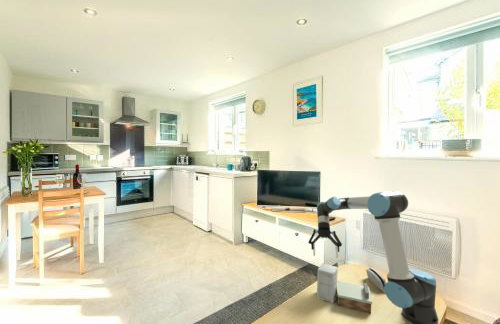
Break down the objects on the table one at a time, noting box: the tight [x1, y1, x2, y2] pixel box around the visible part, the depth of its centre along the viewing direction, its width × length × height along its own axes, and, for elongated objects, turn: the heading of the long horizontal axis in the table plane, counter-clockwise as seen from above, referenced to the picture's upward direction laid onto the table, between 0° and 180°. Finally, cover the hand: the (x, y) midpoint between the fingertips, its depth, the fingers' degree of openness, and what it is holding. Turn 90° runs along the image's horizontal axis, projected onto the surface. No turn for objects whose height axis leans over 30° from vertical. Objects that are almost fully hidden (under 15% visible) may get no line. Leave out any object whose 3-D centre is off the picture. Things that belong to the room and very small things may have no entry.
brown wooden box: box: [337, 296, 372, 314], centre depth 135 cm, size 16×14×5 cm
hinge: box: [365, 267, 387, 293], centre depth 153 cm, size 17×5×10 cm, turn 5°
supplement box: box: [316, 263, 338, 304], centre depth 140 cm, size 10×9×17 cm
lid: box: [337, 280, 373, 305], centre depth 135 cm, size 17×15×4 cm
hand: (325, 255), depth 149 cm, fingers open, 13 cm apart
